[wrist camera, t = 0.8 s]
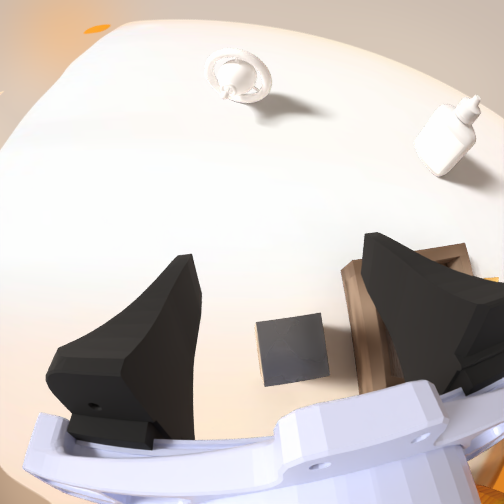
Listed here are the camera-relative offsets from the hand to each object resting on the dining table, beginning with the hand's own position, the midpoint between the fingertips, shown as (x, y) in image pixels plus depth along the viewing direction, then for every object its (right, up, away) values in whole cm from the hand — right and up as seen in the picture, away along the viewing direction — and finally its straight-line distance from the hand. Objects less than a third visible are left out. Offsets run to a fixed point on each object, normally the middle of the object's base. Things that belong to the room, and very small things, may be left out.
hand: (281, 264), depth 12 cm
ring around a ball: (-3, +18, +21) cm, 27 cm away
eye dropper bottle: (+21, +12, +19) cm, 31 cm away
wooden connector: (+1, -8, +13) cm, 15 cm away
